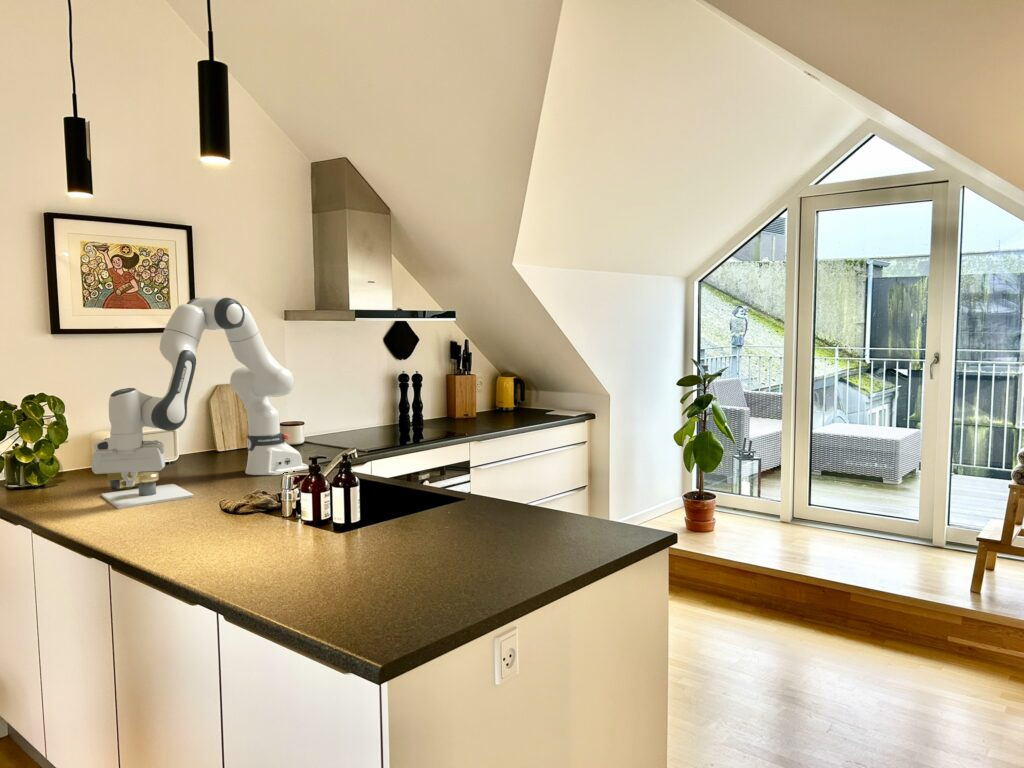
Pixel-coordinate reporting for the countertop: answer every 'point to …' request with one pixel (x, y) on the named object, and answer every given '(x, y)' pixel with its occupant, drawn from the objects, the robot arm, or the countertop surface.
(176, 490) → the base
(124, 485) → the locking lever
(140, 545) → the countertop surface
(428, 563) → the countertop surface
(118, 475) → the flower pot
